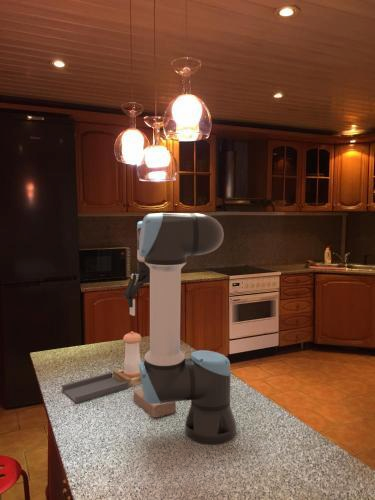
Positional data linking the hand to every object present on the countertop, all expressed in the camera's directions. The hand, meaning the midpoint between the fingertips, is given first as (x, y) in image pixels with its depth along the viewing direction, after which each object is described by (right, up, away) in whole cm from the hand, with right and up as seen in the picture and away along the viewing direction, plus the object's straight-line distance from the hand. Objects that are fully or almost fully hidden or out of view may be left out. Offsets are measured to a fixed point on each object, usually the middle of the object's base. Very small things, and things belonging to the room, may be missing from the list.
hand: (146, 311), depth 161 cm
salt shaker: (-5, -26, -4) cm, 27 cm away
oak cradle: (-5, -26, -4) cm, 27 cm away
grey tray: (-18, -27, -14) cm, 35 cm away
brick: (+5, -28, -26) cm, 39 cm away
